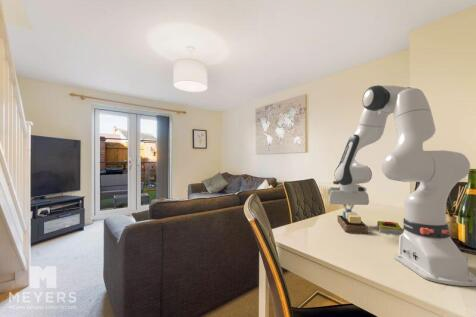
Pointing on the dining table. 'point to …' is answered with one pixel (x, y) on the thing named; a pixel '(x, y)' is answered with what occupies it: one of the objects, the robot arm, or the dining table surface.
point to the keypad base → (352, 226)
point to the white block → (349, 214)
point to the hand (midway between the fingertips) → (348, 212)
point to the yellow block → (354, 219)
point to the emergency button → (389, 227)
